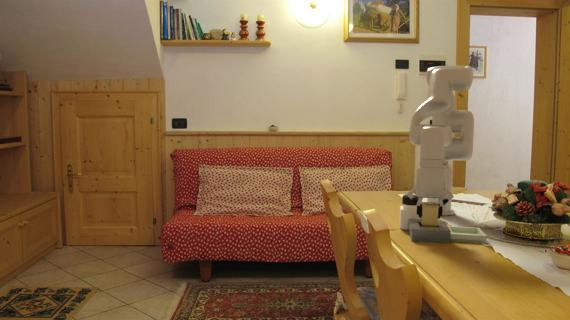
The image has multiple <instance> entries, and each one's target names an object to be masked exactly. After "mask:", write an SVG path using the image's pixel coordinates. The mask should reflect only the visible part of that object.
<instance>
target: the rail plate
mask: <svg viewBox="0 0 570 320" xmlns="http://www.w3.org/2000/svg"><path fill="white" fill-rule="evenodd" d="M448 226H449V225H447V223H446V222H445V221H444V220H438V227H420V220H416V219H408V230H407V231H408V235H409V237H410V241H411V242H425V243H438V244H439V243H441V244H442V243H443V244H451V241H450V237H451V230H450V229H449V228H448Z"/></svg>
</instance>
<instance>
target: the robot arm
mask: <svg viewBox="0 0 570 320" xmlns="http://www.w3.org/2000/svg"><path fill="white" fill-rule="evenodd" d="M425 76H426V77H425V79H426V82H427V86H428V87H427V97H426V101H424V102H423V103H421V104H420V105H419V107H418V108H417V109H416V110H415V111H414V112H413V114H412V117H411V120H410V123H409V124H410V125H409V131H408V132H409V133H408V138H409V139H408V140H409V142H410V144H411V145H413V146H415V147H417V146H418V147H420V148H419V166H417V167H416V170H415V175H414V176H415V177H414V186H413V187H412V188H411V189H410V190H409V191H408V192H407V193H406V194H407V196H408V197H409V198H410V199H412V200H413V202H414V203H415V204H416V205H417V215H418V216H419V218H421V216H422V206H421V202H423V200H424V198H425V199H426V202H437V203H438V205H439V208H438V220H440V219H441V216H442V217H443V216H452V215H454V214H455V210H454V209H452V200H453V199H454V195H453V193H452V192H453V176H454V175H453V168H452V167H451V165H450V164H449V161H457V162H458V161H461V162H463V161H465V162H466V161H469V160H471V159H472V156H473V153H474V152H473V150H474V137H475V136H474V135H475V134H474V133H475V132H474V131H475V130H474V129H475V118H474V114H473V112H472V111H470V110H467V109H456V106H455V105H456V96H455V95H454V93H453V92H455V91H457V92H458V91H461V92H462V91H463V92H464V91H469V90H470V89H471V87H472V84H473V81H474V71H473V68H472V67H471V66H470V65H437V66H432V67H428V68H427V70H426V73H425ZM430 117H431V118H432V119H431V124H421V123H422V122H423V121H424V120H425V119H428V118H430ZM454 134H458V135H460V136H454ZM412 194H414V195H416V196H417V197H418V198H417V199H416V198H415V197H414V196H413V195H412Z"/></svg>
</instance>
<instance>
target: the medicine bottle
mask: <svg viewBox="0 0 570 320" xmlns="http://www.w3.org/2000/svg"><path fill="white" fill-rule="evenodd" d="M412 195H413V196H414V197H415V198H416V199H417V198H418V197H417V196H416V195H415V193H413V194H412ZM401 198H402V200H401V201H402V203H401V205H400V206H399V221H398V222H399V230H405V231H406V230H407V231H408V219H416V220H420V218H419V216H418V215H417V205H416V204H415V203H414V202H413V200H412V199H410V198H409V197H408V196H407V193H405V194H403V195H402V197H401Z"/></svg>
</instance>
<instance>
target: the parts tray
mask: <svg viewBox="0 0 570 320" xmlns="http://www.w3.org/2000/svg"><path fill="white" fill-rule="evenodd" d="M447 226H448V228H449V229H450V230H451V237H450V242H456V243H457V242H460V243H461V242H462V243H463V242H464V243H472V244H473V243H474V244H475V243H476V244H487V238H488V237H487V235H486V234H485V233H484V231H483V230H482V229H481V228H480V227H472V226H456V225H455V226H453V225H447Z"/></svg>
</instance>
